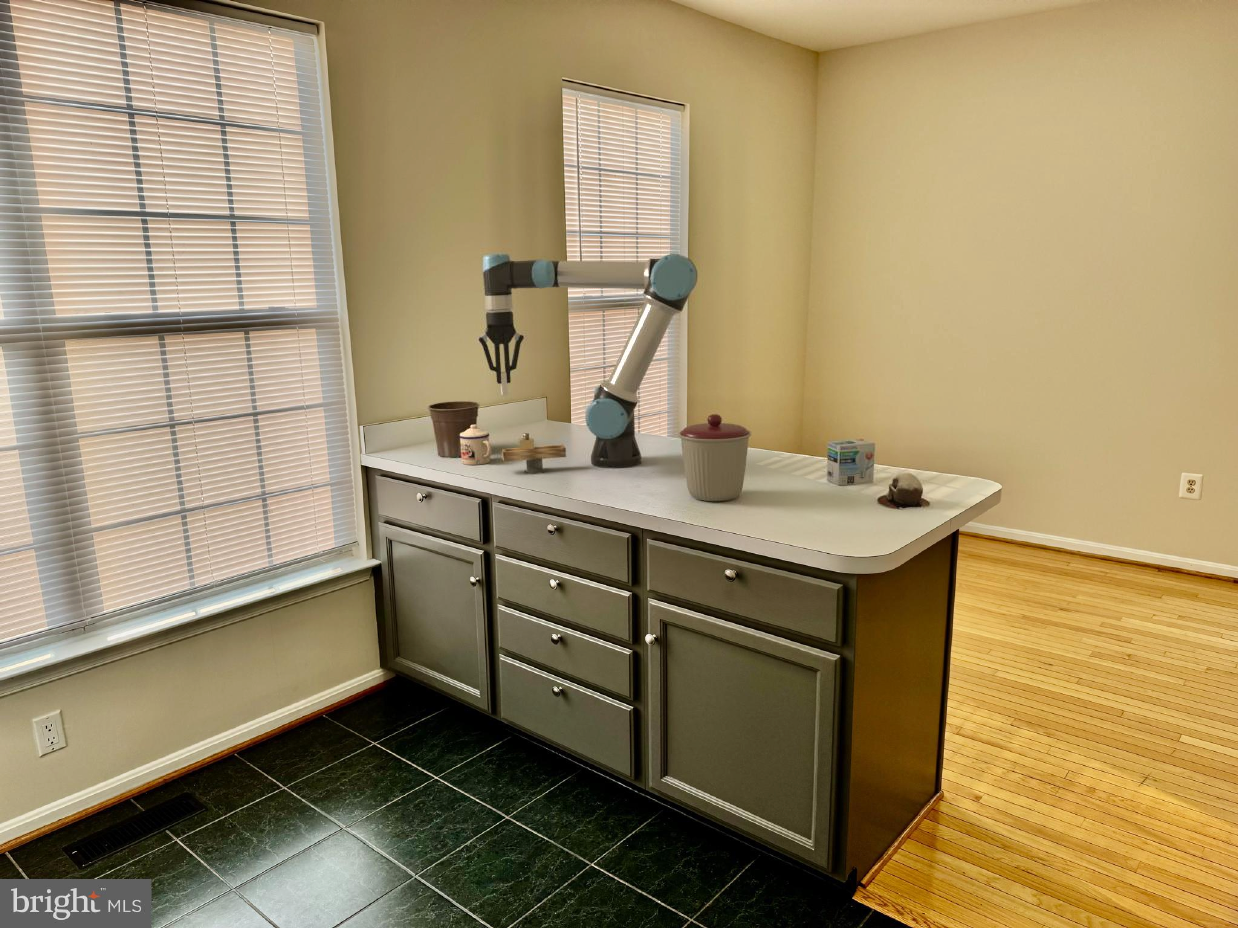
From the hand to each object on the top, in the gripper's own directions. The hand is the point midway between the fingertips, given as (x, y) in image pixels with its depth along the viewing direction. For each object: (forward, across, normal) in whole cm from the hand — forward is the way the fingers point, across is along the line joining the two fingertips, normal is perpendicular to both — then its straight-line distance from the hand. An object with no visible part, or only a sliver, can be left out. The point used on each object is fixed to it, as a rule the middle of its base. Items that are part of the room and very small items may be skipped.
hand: (504, 394), depth 251 cm
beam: (+23, -7, 0) cm, 24 cm away
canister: (+23, -47, +46) cm, 70 cm away
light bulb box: (+24, -86, +43) cm, 99 cm away
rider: (+17, -5, 0) cm, 18 cm away
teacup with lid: (+23, +8, -17) cm, 29 cm away
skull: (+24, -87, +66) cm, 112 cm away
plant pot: (+23, +13, -33) cm, 42 cm away
